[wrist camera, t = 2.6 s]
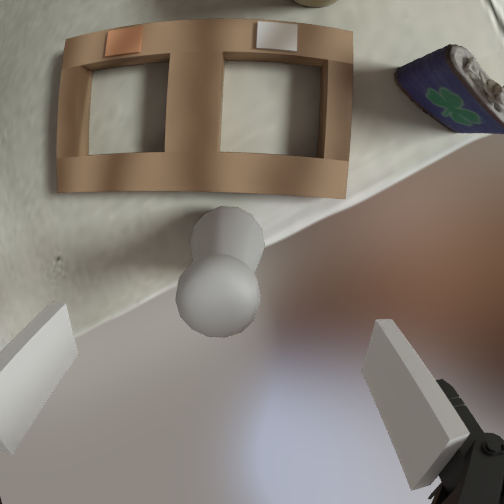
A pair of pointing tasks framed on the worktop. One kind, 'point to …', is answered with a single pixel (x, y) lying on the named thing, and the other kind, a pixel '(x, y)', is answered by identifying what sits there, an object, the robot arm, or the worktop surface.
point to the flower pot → (315, 2)
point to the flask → (454, 91)
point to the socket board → (206, 108)
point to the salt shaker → (222, 273)
